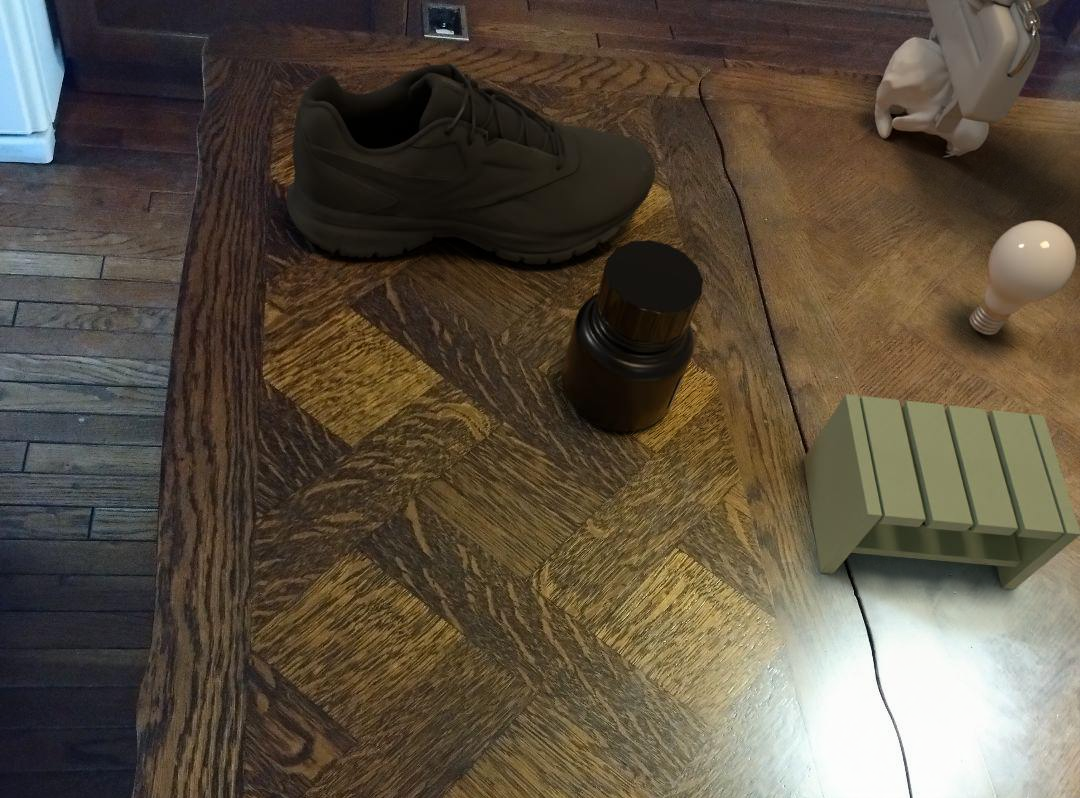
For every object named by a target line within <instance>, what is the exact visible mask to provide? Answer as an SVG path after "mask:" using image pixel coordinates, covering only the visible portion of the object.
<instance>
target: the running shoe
mask: <svg viewBox="0 0 1080 798" xmlns="http://www.w3.org/2000/svg"><path fill="white" fill-rule="evenodd" d="M471 77H472V76H471V74H470V73H469V72H467V73H464V74H463V73H462V72H461V70H459V68H458V67H457V66H455V64H453V63H452V62H444V63H442V64H430V65H425V66H422V67H419V68H416V69H414V70H411V71H410V72H408V73H406V74H405V75H402V76H401V77H400V78H397V80H396V81H394V82H392V83H391V84H389V85H387V86H385V87H382V88H379V89H377V90H373V91H370V92H366V93H354V92H352V91H347V90H345V89H344V88H343V87H342V86H341V85H340V83H339V81H338V80H337V79H336V77H335V76H334V75H332V74H330V73H323V74H321V75H320V76H318V77H316V78H315V79H314V80H312V81H311V82H310V84H309V85H308V86H307V88H306V89H305V91H304V93H303V95H302V96H301V99H300V102H299V105H298V106H297V110H296V115H295V122H294V131H293V140H292V148H293V149H292V150H293V151H292V161H293V162H292V163H293V169H294V175H293V182H292V183H291V184H289V186H288V187H287V192H286V197H285V198H286V200H285V201H286V209H287V213H288V215H289V217H290V219H291V221H292V223H293V224H294V226H295V227H296V228H297V229H298V231H299V232H300V233H301V234H302V235H303V236H304V237H306V239H307V240H308V241H309V242H310V243H311V244H313V245H315V246H318V247H319V249H322V250H324V251H326V252H329V253H330V254H335V253H336V252H338V254H339V255H340V256H342V257H349V258H356V257H357V258H360V259H362V258H363V259H364V258H372V257H373V255H376V256H377V258H382V257H383V258H389V257H390V256H391V257H396V256H397V255H403V252H404V251H405V250H406V251H408V252H410V251H413V249H417V248H419V247H420V246H424V245H427V244H428V243H430V242H432V241H433V238H434V237H435V238H440V239H441V238H443V239H444V238H455V239H456V238H457V239H460V240H464V241H465V242H468V243H471V244H472V245H475V246H476V247H479V248H481V249H483V251H487V252H490V253H491V252H494V253H495V255H496V256H497V257H498V258H501V259H504V260H506V261H510V262H516V263H519V262H520V261H523V263H524V264H528V265H545V264H547V263H548V262H549V263H550V264H558V263H562V262H565V261H568V260H569V259H571V258H572V257H573V255H574V256H577V257H578V256H580V255H583V254H586V253H588V252H589V251H591V250H593V249H594V248H596V247H597V245H598V244H604V243H606V242H607V241H609V240H610V239H611V238H613V237H614V236H615V235H616V234H617V233H618V232H619V229H620V228H624V227H625V226H626V225H627V224H628V223H629V222H630V221H631V219H632V218H633V217H634V215H635V214H636V212H637V210H638V209H639V208H640V207H641V205H642V204H643V203H644V202H645V200H646V199H647V198H648V196H649V194H650V191H651V190H652V187H653V184H654V179H655V176H656V165H655V161H654V159H653V157H652V155H651V153H650V151H649V150H648V148H647V147H646V146H645V145H644V144H643V143H642V142H641V141H638V140H636V139H635V138H633V137H632V138H631V137H630V136H625V135H620V134H617V133H611V132H608V131H607V132H606V131H602V130H597V129H592V128H589V127H581V126H572V125H565V124H562V123H561V122H558V121H555V120H553V119H550V118H546V117H543V116H542V115H540V114H539V113H538V112H536V111H535V110H533V109H532V108H530V107H528V106H527V105H525V104H522V103H521V102H519V101H518V100H516V99H515V98H514V97H512V96H511V95H509V94H507V93H506V92H503V91H502V90H499V89H496V88H494V87H479V83H478V81H477V80H473V79H472V78H471Z"/></svg>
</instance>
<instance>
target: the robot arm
mask: <svg viewBox="0 0 1080 798" xmlns="http://www.w3.org/2000/svg"><path fill="white" fill-rule="evenodd" d="M1049 1H1050V0H925V3H926V6H927V8H928V11H929V15H930V18H931V21H932V24H933V25H932V27H931V29H930V31H929V36H928V40H931V41H933V42H935V43H936V44H938V45H940V47H941V50H942V53H943V56H944V59H945V62H946V66H947V69H948V72H949V75H950V78H951V82H952V85H953V88H954V93H953V95H952V100H953V101H952V102H951V103H950V104H949V105H948V106H947V107H946V106H941V107H940V109H939V110H938V112H937V115H936V116H935V117H934V123H935V127H936V130H937V131H938V132H941V133H948V134H949V133H952V132H953V131H954V130H955V128H956V127H957V125H958V123H959V122H960V120H961V119H962V118H965V119H968V120H973V121H978V122H986V123H988V124H996V123H999V122H1001V121H1002V120H1004V119H1005V118H1006V117H1007V116H1008V114H1009V113H1010V111H1011V109H1012V108H1013V106H1014V104H1015V102H1016V101H1017V99H1018V97H1019V95H1020V93H1021V92H1022V90H1023V89H1024V86H1025V84H1026V82H1027V80H1028V78H1029V76H1030V75H1031V73H1032V70H1033V68H1034V67H1035V65H1036V62H1037V59H1038V57H1039V53H1040V49H1041V38H1040V34H1039V31H1038V30H1039V29H1040V28H1041V19H1040V16H1039V14H1038V13H1037V12H1036V10H1035V9H1036V8H1038V7H1041V6H1043V5H1045V4H1047V3H1048V2H1049Z"/></svg>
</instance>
